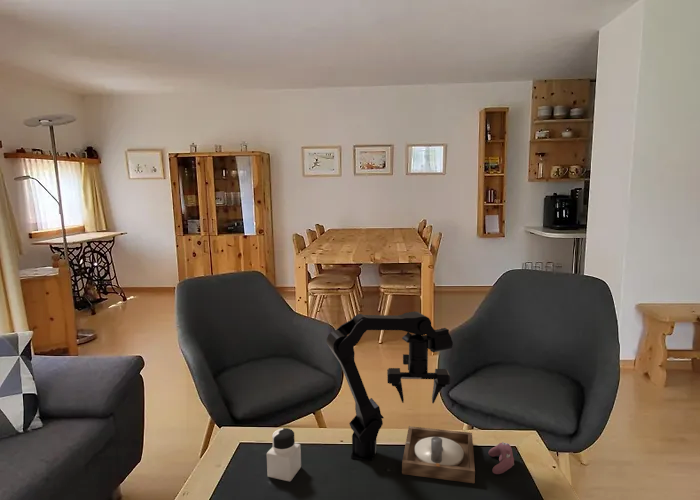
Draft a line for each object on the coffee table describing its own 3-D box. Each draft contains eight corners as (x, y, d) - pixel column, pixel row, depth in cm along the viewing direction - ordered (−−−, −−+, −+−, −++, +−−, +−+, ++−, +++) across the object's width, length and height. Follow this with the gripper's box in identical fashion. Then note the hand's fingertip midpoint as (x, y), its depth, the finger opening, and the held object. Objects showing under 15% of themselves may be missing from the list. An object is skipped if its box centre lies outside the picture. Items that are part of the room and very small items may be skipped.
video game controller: (506, 481, 124) (519, 461, 123) (491, 473, 124) (503, 453, 123) (500, 460, 134) (512, 441, 132) (486, 452, 134) (498, 433, 133)
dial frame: (402, 473, 125) (402, 461, 125) (408, 436, 144) (408, 425, 143) (474, 483, 121) (474, 470, 120) (471, 443, 140) (472, 432, 139)
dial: (419, 437, 141) (419, 415, 140) (465, 445, 137) (466, 422, 136) (410, 463, 128) (410, 439, 127) (461, 472, 123) (461, 448, 122)
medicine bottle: (301, 466, 129) (300, 427, 127) (290, 482, 122) (289, 441, 121) (279, 462, 131) (277, 423, 130) (267, 477, 125) (265, 436, 123)
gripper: (445, 345, 144) (444, 391, 146) (387, 344, 145) (387, 390, 148) (451, 358, 133) (450, 408, 135) (387, 357, 134) (387, 406, 137)
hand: (417, 402), depth 139 cm, fingers open, 9 cm apart
